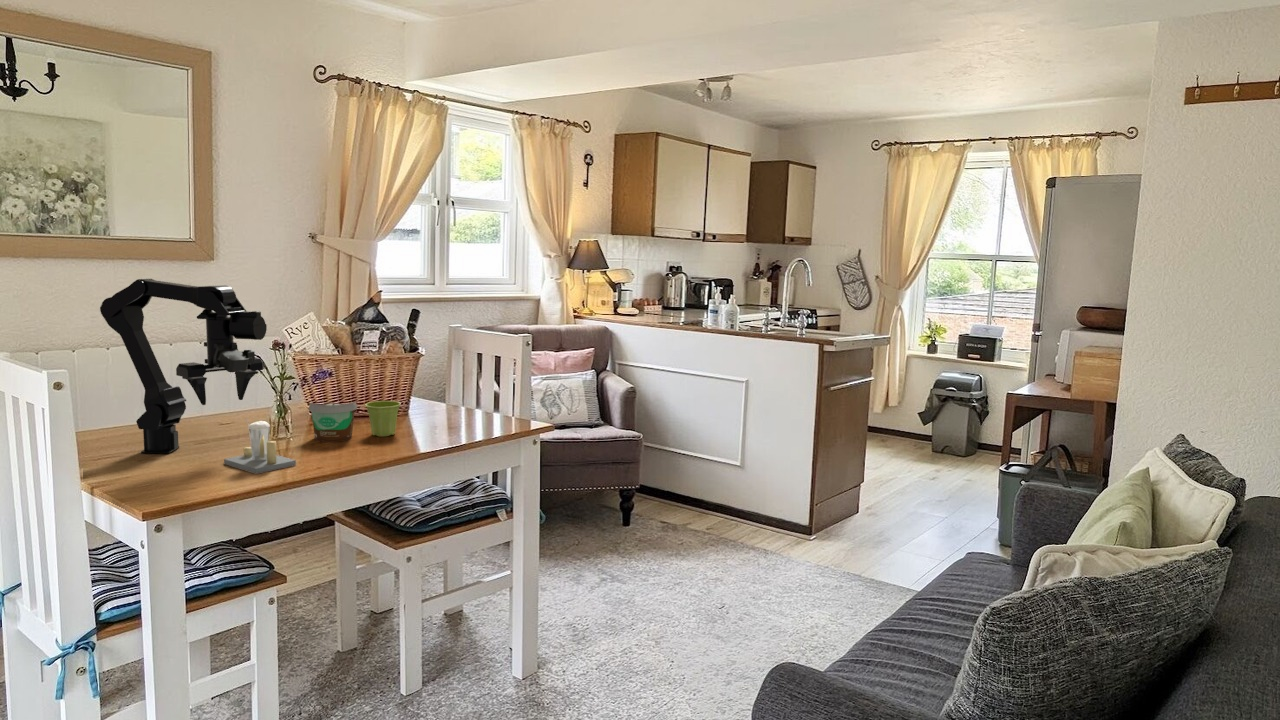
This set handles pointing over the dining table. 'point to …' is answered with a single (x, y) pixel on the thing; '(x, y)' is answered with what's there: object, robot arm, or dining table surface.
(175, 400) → the robot arm
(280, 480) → the dining table surface
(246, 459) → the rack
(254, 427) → the milkshake
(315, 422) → the food container
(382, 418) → the plant pot
